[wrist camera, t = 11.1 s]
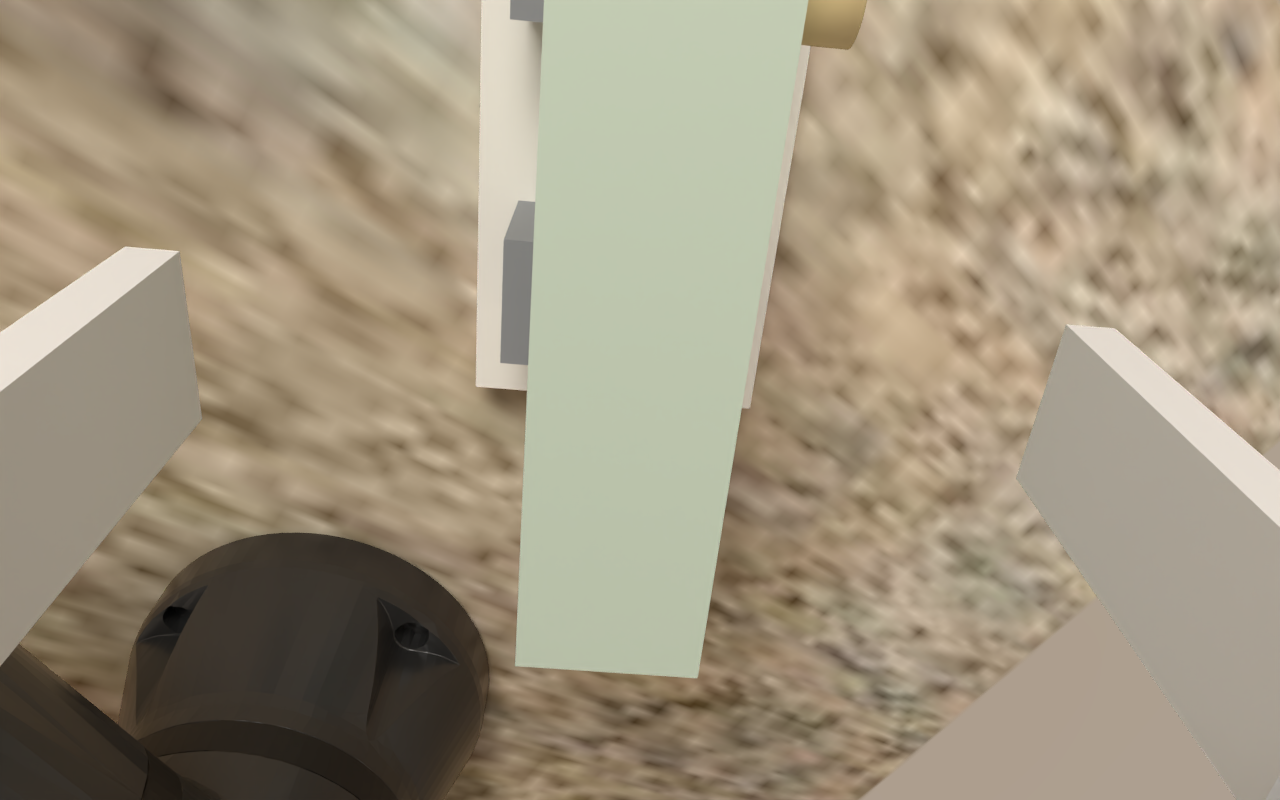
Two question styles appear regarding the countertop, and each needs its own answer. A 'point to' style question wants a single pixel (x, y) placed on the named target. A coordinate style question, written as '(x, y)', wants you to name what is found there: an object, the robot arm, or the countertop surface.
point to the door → (647, 310)
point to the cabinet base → (512, 192)
